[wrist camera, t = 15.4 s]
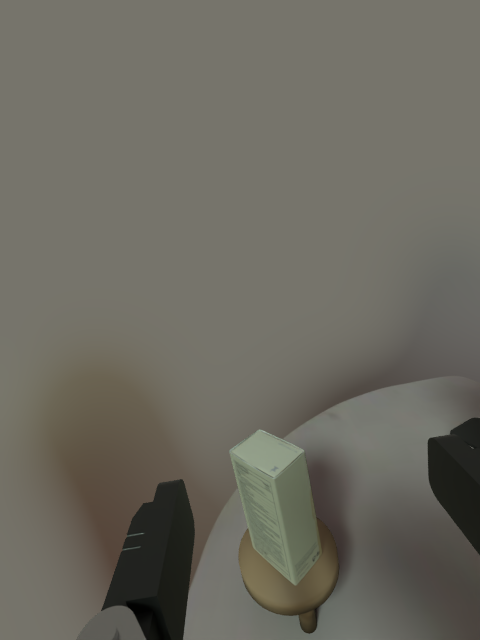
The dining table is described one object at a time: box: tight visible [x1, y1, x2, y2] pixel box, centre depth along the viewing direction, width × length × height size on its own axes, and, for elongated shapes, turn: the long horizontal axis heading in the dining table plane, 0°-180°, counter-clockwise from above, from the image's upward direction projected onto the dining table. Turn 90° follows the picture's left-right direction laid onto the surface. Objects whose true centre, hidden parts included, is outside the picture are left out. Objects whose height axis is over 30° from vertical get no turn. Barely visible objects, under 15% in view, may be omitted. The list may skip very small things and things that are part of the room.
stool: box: [239, 517, 339, 633], centre depth 35 cm, size 10×10×6 cm
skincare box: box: [229, 430, 322, 585], centre depth 32 cm, size 6×4×12 cm
